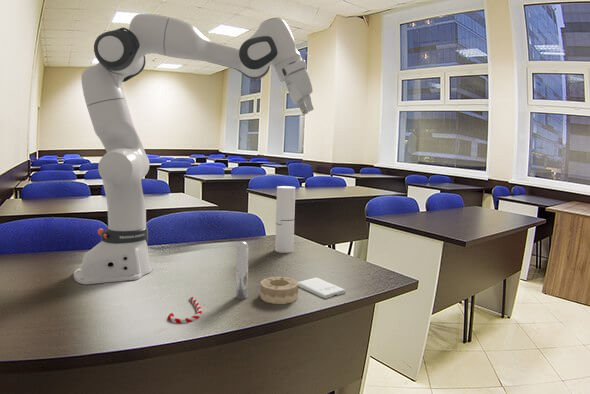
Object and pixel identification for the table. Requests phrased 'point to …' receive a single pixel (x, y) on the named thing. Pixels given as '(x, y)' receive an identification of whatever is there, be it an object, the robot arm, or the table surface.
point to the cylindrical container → (285, 219)
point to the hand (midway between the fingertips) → (308, 112)
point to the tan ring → (279, 290)
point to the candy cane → (190, 317)
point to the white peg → (242, 270)
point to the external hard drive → (321, 287)
